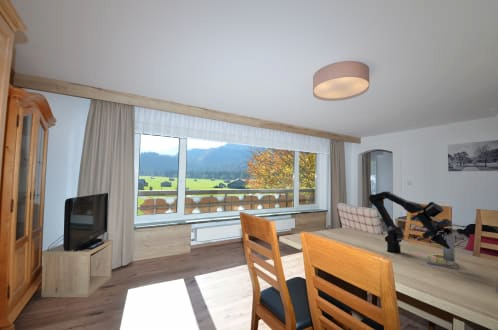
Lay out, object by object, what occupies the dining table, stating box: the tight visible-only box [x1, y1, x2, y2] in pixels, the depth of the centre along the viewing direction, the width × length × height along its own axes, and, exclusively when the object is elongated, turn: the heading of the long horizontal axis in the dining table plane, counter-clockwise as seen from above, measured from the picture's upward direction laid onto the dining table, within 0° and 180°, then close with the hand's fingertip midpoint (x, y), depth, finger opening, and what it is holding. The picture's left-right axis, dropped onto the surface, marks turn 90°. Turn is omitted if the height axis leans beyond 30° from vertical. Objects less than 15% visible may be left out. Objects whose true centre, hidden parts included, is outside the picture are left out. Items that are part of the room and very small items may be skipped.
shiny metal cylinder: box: [442, 234, 456, 262], centre depth 113 cm, size 4×4×13 cm
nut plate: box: [426, 253, 458, 270], centre depth 120 cm, size 12×12×4 cm
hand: (452, 248), depth 112 cm, fingers closed on shiny metal cylinder, 4 cm apart
